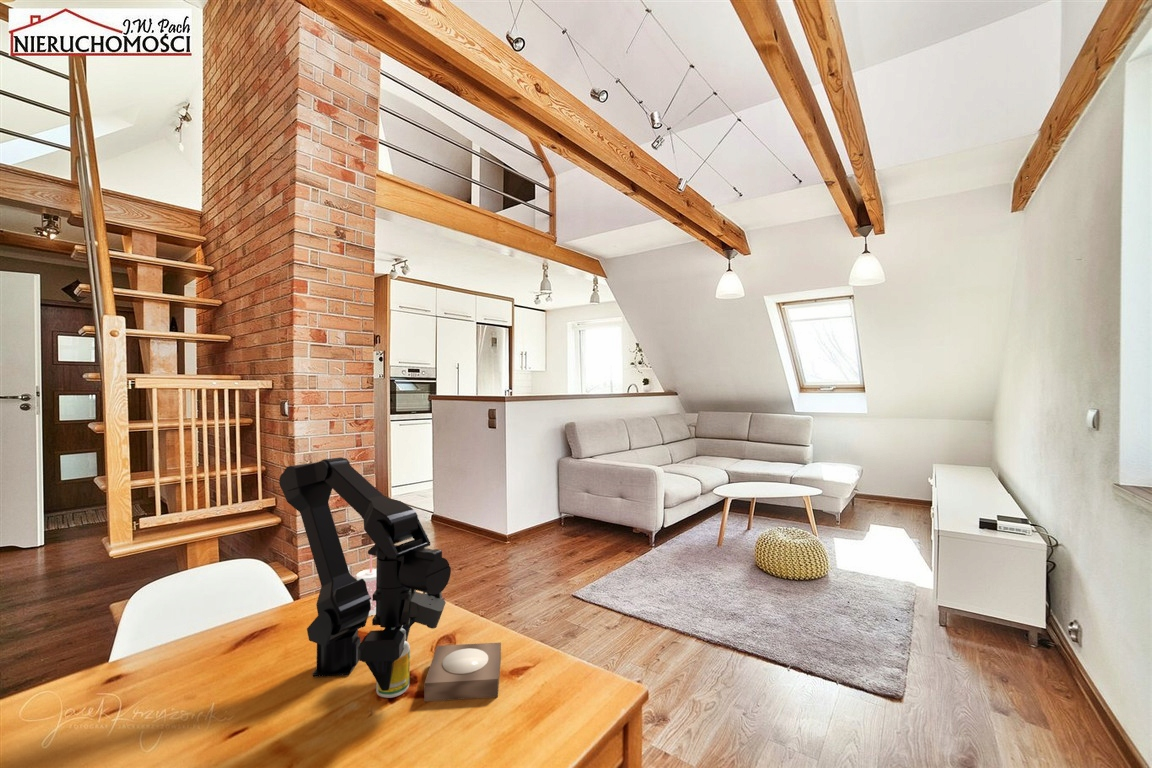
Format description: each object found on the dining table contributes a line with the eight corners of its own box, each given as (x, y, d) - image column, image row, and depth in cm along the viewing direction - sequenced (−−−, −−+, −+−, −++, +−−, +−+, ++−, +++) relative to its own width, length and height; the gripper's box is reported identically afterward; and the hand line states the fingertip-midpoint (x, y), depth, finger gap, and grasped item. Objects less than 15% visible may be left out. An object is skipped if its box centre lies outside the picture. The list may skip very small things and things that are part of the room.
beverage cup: (370, 604, 117) (371, 545, 117) (390, 609, 115) (390, 549, 115) (349, 615, 112) (350, 553, 112) (369, 620, 109) (370, 557, 109)
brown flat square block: (424, 701, 80) (424, 682, 80) (436, 661, 92) (437, 644, 92) (497, 696, 82) (497, 677, 82) (500, 658, 94) (501, 641, 94)
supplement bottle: (372, 687, 84) (372, 631, 84) (402, 676, 88) (403, 622, 88) (382, 703, 80) (382, 644, 80) (414, 690, 83) (414, 634, 84)
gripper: (431, 603, 76) (430, 705, 75) (449, 562, 94) (449, 643, 94) (357, 606, 74) (355, 710, 74) (390, 564, 93) (389, 646, 93)
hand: (393, 673), depth 84 cm, fingers open, 9 cm apart
